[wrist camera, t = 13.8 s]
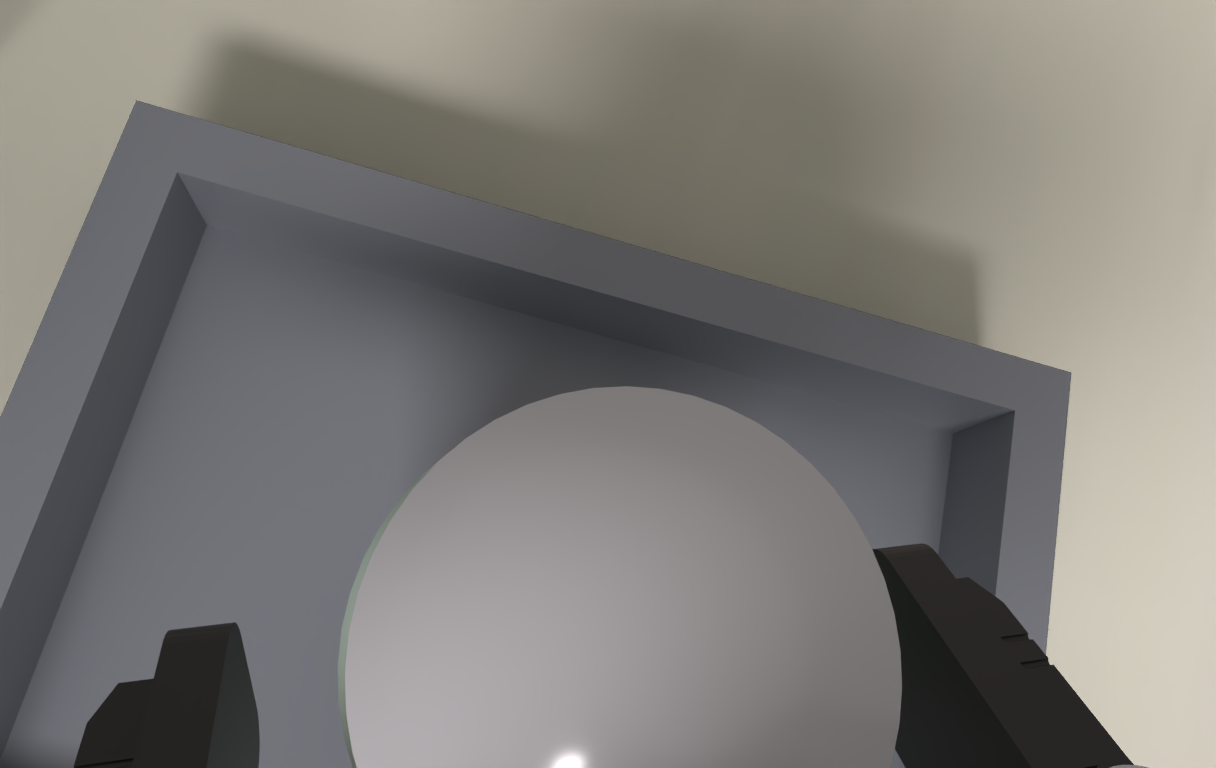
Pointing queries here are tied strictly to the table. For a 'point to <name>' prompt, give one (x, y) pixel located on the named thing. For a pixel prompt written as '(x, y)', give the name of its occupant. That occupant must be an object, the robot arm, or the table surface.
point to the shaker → (620, 601)
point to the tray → (411, 413)
